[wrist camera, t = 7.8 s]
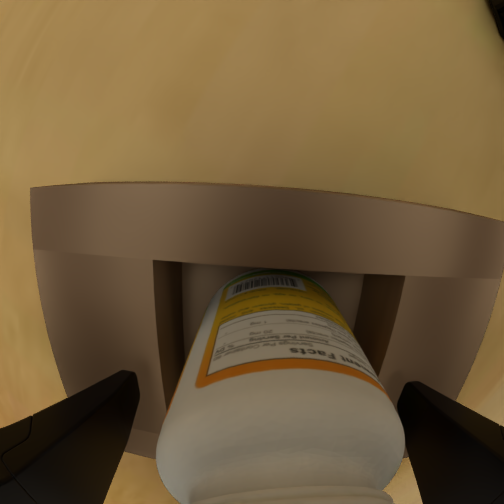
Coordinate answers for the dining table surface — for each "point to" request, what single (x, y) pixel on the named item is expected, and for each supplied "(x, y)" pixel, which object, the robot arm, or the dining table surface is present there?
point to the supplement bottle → (278, 403)
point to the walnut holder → (250, 258)
